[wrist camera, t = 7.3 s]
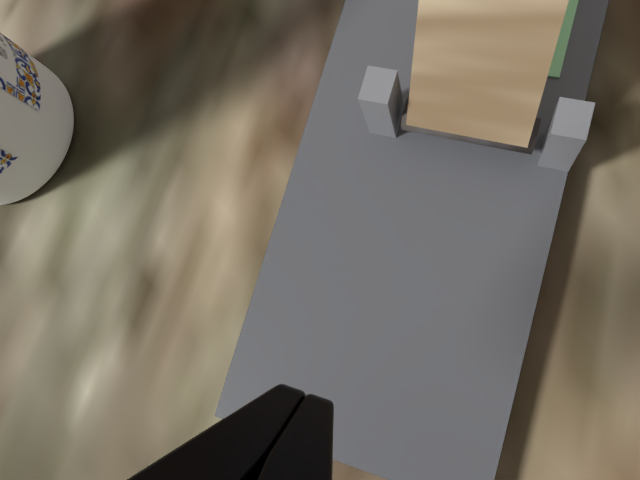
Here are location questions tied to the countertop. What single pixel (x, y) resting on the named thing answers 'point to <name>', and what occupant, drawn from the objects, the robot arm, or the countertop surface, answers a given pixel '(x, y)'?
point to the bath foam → (30, 123)
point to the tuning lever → (482, 70)
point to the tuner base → (410, 257)
